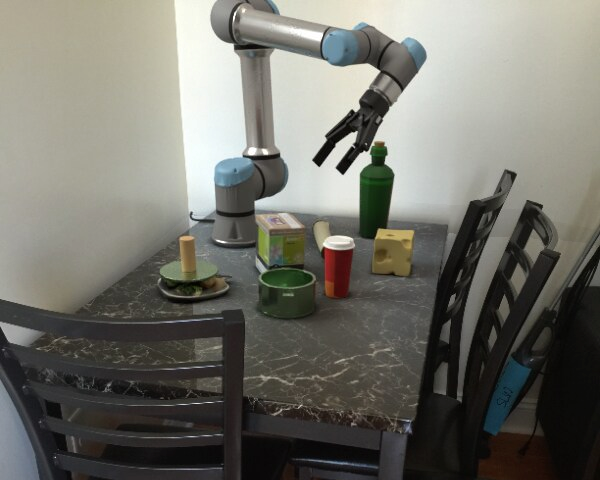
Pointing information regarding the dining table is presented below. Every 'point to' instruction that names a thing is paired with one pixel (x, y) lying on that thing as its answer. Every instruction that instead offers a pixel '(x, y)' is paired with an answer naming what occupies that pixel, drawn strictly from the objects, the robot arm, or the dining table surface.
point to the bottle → (375, 192)
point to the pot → (287, 293)
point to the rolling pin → (321, 235)
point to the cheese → (393, 252)
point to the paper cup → (338, 265)
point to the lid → (188, 265)
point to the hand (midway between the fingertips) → (326, 167)
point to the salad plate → (193, 289)
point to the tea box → (279, 242)
